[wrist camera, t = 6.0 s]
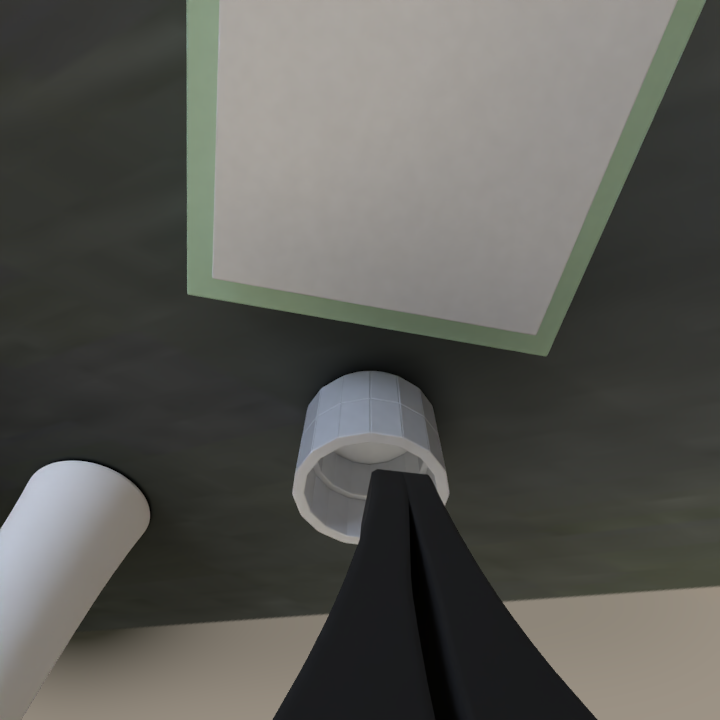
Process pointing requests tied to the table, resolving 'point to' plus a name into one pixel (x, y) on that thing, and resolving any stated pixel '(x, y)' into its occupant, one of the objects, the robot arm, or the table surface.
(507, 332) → the scale
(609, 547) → the table surface
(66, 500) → the cosmetic bottle
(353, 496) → the grey cup
